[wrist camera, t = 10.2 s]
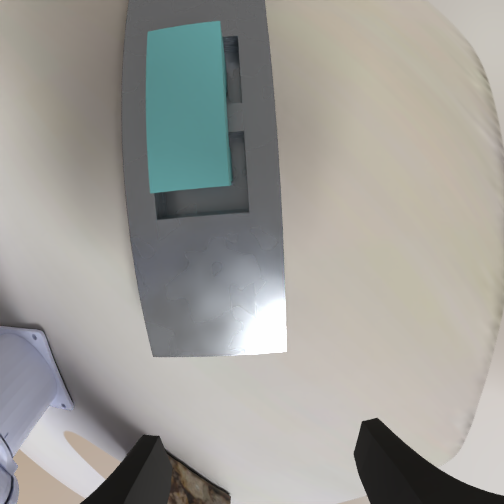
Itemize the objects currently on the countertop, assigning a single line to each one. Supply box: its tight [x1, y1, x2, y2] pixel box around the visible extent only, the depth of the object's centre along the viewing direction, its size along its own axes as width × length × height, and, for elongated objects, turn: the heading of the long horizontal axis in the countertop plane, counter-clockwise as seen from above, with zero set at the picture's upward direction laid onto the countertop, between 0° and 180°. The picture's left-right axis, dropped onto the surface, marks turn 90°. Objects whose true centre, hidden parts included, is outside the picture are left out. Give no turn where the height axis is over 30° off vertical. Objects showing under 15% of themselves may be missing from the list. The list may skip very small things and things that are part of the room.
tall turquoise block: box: [146, 21, 233, 194], centre depth 12 cm, size 7×3×5 cm, turn 3°
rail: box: [122, 0, 286, 357], centre depth 14 cm, size 7×24×3 cm, turn 4°
